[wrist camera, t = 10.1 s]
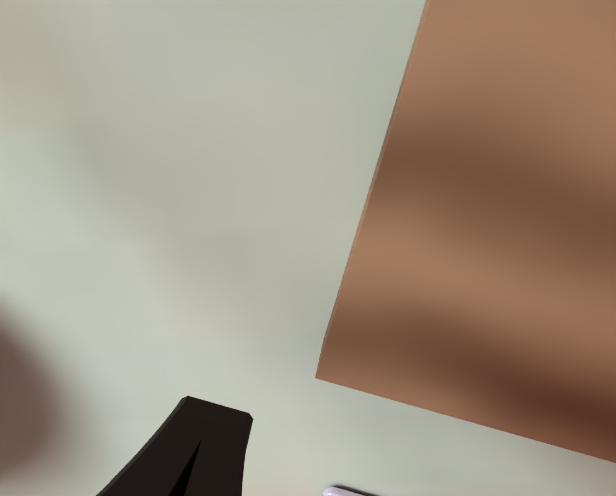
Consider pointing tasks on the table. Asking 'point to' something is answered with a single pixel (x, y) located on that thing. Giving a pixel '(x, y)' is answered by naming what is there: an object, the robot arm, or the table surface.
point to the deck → (493, 227)
